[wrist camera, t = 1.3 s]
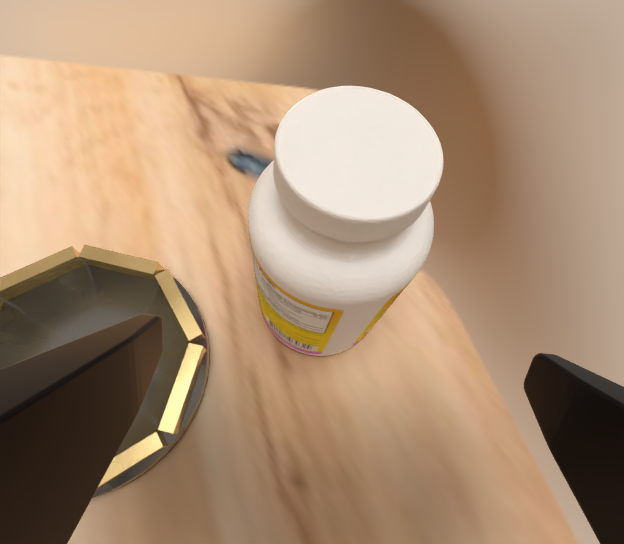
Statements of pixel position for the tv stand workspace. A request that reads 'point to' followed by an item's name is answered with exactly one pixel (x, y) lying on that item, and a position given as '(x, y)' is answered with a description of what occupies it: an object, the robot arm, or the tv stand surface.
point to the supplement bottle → (342, 215)
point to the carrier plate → (104, 313)
